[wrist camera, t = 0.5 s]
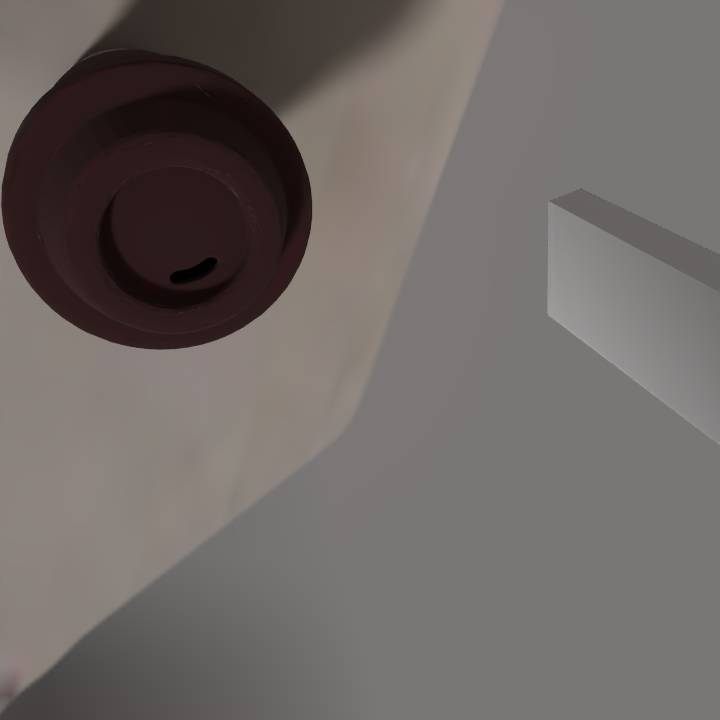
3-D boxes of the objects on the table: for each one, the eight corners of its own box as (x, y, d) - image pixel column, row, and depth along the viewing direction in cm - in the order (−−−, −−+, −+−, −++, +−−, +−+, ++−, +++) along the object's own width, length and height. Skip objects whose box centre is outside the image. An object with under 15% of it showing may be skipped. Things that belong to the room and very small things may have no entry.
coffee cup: (25, -19, 26) (6, 19, 15) (249, 51, 31) (365, 121, 20) (13, 204, 30) (-10, 367, 19) (211, 236, 35) (288, 381, 24)
